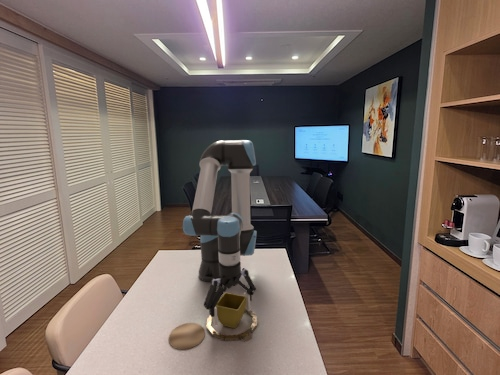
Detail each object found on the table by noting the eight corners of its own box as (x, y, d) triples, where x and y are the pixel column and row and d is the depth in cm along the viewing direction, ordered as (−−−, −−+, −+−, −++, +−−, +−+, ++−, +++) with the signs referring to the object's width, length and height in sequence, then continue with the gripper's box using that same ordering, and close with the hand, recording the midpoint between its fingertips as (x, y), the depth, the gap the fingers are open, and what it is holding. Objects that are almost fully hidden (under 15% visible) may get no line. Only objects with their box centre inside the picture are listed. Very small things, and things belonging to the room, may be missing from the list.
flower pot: (247, 317, 105) (246, 296, 104) (238, 333, 97) (238, 310, 96) (225, 313, 108) (224, 292, 106) (215, 328, 100) (214, 305, 98)
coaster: (164, 333, 98) (164, 331, 98) (196, 320, 105) (196, 318, 105) (176, 355, 88) (175, 353, 88) (210, 339, 95) (210, 337, 95)
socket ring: (197, 316, 106) (197, 313, 106) (238, 300, 116) (237, 297, 116) (224, 352, 89) (224, 347, 89) (269, 329, 99) (269, 325, 99)
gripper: (201, 276, 88) (204, 336, 92) (264, 256, 102) (265, 308, 106) (191, 267, 94) (195, 323, 98) (253, 249, 108) (254, 299, 112)
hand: (231, 316), depth 102 cm, fingers open, 13 cm apart
